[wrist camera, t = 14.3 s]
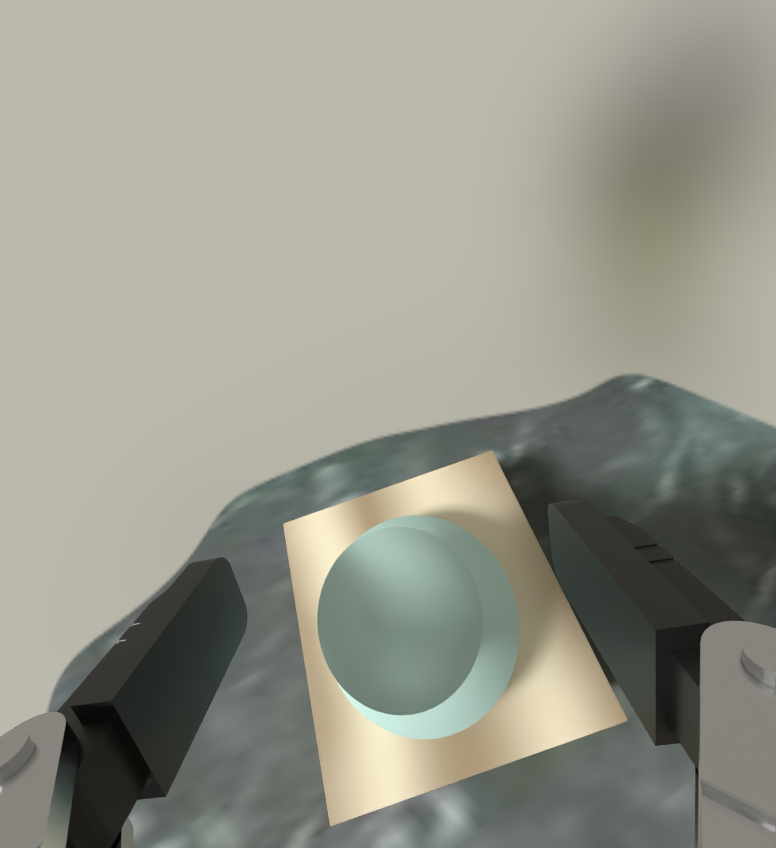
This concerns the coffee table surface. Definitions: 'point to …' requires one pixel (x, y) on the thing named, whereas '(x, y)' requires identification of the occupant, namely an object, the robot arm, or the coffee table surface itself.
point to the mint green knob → (419, 626)
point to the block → (532, 675)
